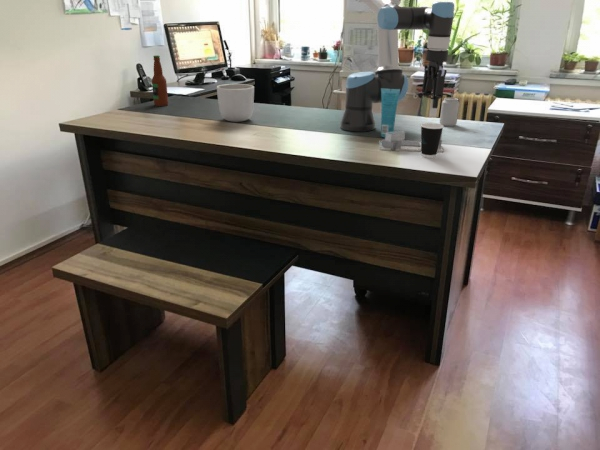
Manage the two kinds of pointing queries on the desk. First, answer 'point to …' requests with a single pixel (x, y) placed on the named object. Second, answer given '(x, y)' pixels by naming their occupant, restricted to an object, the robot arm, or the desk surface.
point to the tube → (388, 109)
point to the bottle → (159, 84)
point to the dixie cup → (430, 139)
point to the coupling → (428, 106)
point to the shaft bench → (401, 142)
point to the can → (449, 112)
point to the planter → (236, 101)
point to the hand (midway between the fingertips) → (429, 114)
